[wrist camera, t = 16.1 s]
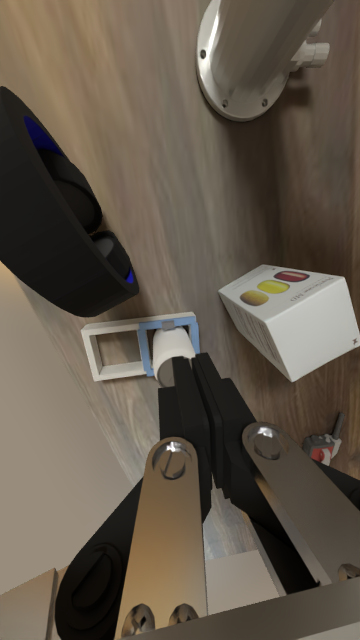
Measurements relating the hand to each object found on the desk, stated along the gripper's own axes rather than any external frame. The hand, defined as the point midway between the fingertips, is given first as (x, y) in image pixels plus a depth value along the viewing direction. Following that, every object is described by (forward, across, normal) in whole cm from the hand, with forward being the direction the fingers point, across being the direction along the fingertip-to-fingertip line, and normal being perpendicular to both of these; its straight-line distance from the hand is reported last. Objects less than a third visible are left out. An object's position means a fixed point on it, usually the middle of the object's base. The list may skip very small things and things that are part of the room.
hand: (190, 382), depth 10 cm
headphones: (+27, +9, -9) cm, 30 cm away
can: (+27, 0, +10) cm, 29 cm away
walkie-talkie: (+28, -35, +44) cm, 63 cm away
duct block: (+27, +4, +10) cm, 29 cm away
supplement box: (+27, -16, +4) cm, 32 cm away
